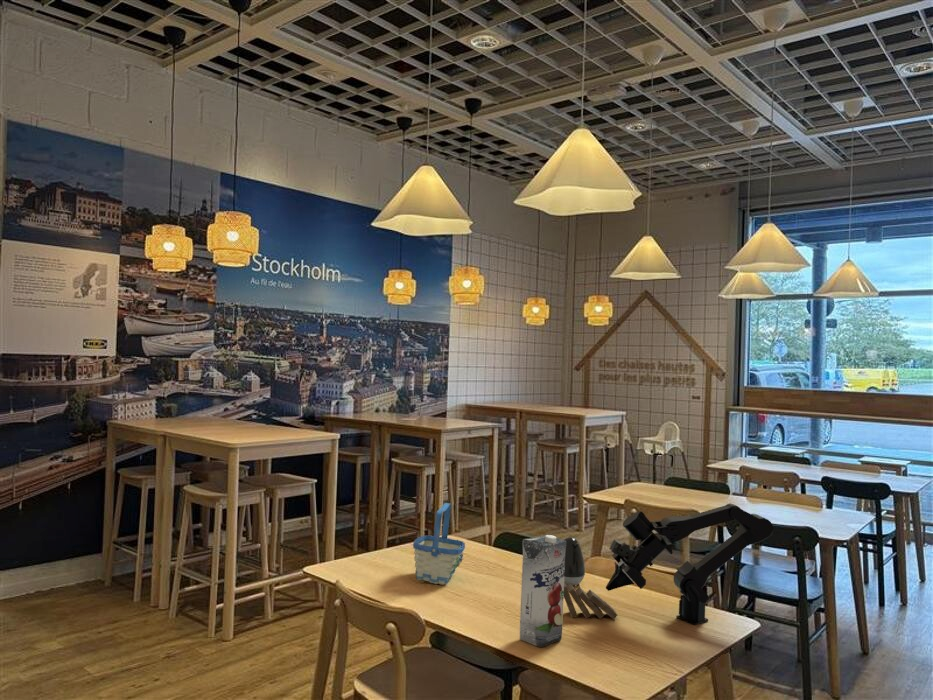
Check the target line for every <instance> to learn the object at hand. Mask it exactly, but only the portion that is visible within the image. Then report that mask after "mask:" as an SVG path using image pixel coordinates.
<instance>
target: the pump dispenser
mask: <svg viewBox="0 0 933 700" xmlns="http://www.w3.org/2000/svg"><path fill="white" fill-rule="evenodd" d="M563 540H565V541H566V551H565V572H564V582H565V584H566V586H567V585H569V584H570V583H571V585H572V586H573V587H574V586H575V587H576V586H578V585H580V584H581V583H582V582H583V580H584V576H585V575H586V566H585V558H584V554H583V551H582V547H581V545H580V543H579V541H578V540H577V539H576V538H575V537H572V536H569V537H566V538H564V539H563Z"/></svg>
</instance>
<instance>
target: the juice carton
mask: <svg viewBox="0 0 933 700" xmlns="http://www.w3.org/2000/svg"><path fill="white" fill-rule="evenodd" d="M565 551H566V541H565V540H564V539H561V538H557V536H555V535H551V534H546V535H545V534H544V535H540V536H538V537H535V538H524V539H522V564H521V565H522V569H521V570H522V572H521V594H520V596H521V597H520V615H519V616H520V619H519V640H520V641H523V642H526V643H528V644H530V645H534V646H536V647H538V648H543V647H547V646H548V645H550V644H553V643H556V642H559V641H561V640H562V638H563V623H564V622H563V619H564V599H565V598H564V572H565Z"/></svg>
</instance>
